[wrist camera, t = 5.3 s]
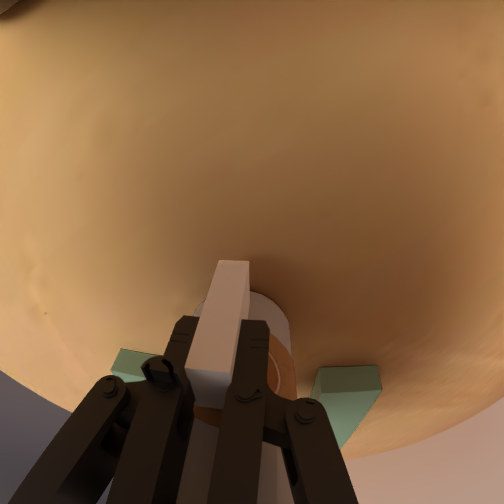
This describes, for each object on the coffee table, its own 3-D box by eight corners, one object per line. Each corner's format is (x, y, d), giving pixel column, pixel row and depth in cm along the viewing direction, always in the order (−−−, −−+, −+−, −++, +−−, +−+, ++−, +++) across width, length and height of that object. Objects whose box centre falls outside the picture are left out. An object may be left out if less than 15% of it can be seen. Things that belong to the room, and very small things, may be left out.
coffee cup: (322, 288, 17) (342, 564, 4) (284, 366, 21) (274, 553, 9) (184, 259, 17) (80, 528, 4) (179, 345, 21) (127, 528, 8)
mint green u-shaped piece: (120, 348, 22) (107, 375, 20) (376, 365, 21) (383, 395, 18) (163, 424, 31) (157, 443, 28) (335, 436, 29) (336, 457, 26)
